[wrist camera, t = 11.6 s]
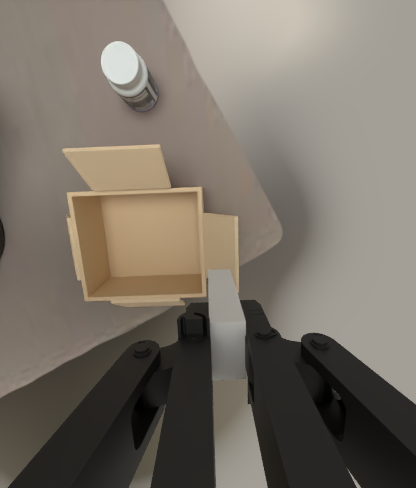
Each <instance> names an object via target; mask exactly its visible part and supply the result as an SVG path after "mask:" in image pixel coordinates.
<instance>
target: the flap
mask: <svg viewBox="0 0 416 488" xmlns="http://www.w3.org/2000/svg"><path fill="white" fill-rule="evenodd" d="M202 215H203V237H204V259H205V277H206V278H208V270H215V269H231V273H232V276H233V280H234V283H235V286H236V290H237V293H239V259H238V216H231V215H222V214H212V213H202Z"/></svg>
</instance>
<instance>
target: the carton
mask: <svg viewBox="0 0 416 488" xmlns="http://www.w3.org/2000/svg"><path fill="white" fill-rule="evenodd" d="M67 197H68V203H69V209H70V215H71V221H72V227H73V233H74V239H75V245H76V251H77V257H78V263H79V269H80V275H81V281H82V287H83V293H84V299H85V301H106V300H134V299H161V298H189V297H206V293H207V278H206V277H205V259H204V237H203V215H202V213H204V199H203V187H186V188H162V189H138V190H114V191H89V192H67Z"/></svg>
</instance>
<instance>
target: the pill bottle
mask: <svg viewBox="0 0 416 488" xmlns="http://www.w3.org/2000/svg"><path fill="white" fill-rule="evenodd" d="M101 66H102V70H103V72H104V74H105V76H106V77H107V79H108V81H109V83H110V85H111V87H112V88H113V90H114V91H115V92H116V93H117V94H118V95H119V96H120V97H121V98H122V99H123V100H124V101H125V102H126V103H127V104H128V105H129V106H130V107H131V108H133V109H134V110H136V111H141V112H143V111H147V110H149V109H151V108H152V107H153V106H154V105H155V103H156V101H157V97H158V90H157V86H156V84H155V82H154V80H153V78H152V76H151V74H150V72H149V70H148V68H147V66H146V64H145V62H144V61H143V59H142V58H141V57H140V56H139V55H138V54H137V53H135V51H134V50H133V49H132V47H130V46H129V45H128V44H126V43H124V42H120V41H116V42H112V43H110V44H109V45H107V46H106V47H105V49H104V51H103V53H102V56H101Z"/></svg>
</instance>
